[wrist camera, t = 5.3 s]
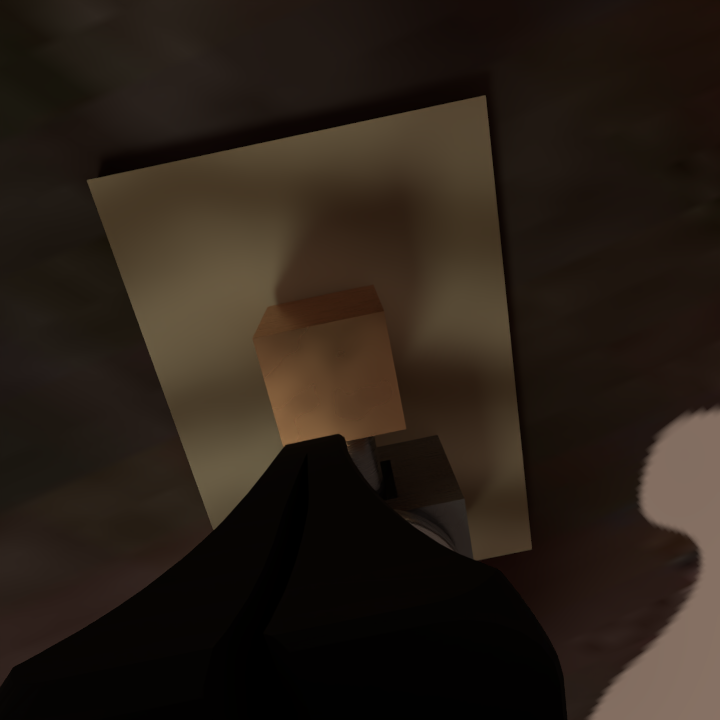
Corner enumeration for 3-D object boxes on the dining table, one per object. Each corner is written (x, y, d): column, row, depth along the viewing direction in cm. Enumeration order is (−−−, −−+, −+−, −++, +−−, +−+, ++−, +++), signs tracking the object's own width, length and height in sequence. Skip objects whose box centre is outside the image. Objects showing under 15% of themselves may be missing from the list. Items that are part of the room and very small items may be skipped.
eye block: (453, 530, 23) (481, 609, 19) (303, 559, 24) (297, 646, 19) (437, 434, 22) (464, 498, 17) (276, 467, 22) (263, 539, 18)
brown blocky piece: (424, 552, 23) (443, 625, 19) (338, 569, 23) (339, 645, 19) (373, 284, 19) (384, 311, 15) (267, 306, 19) (252, 338, 15)
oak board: (525, 538, 25) (531, 549, 24) (244, 594, 25) (241, 607, 24) (479, 98, 18) (485, 95, 17) (96, 180, 18) (86, 180, 18)
